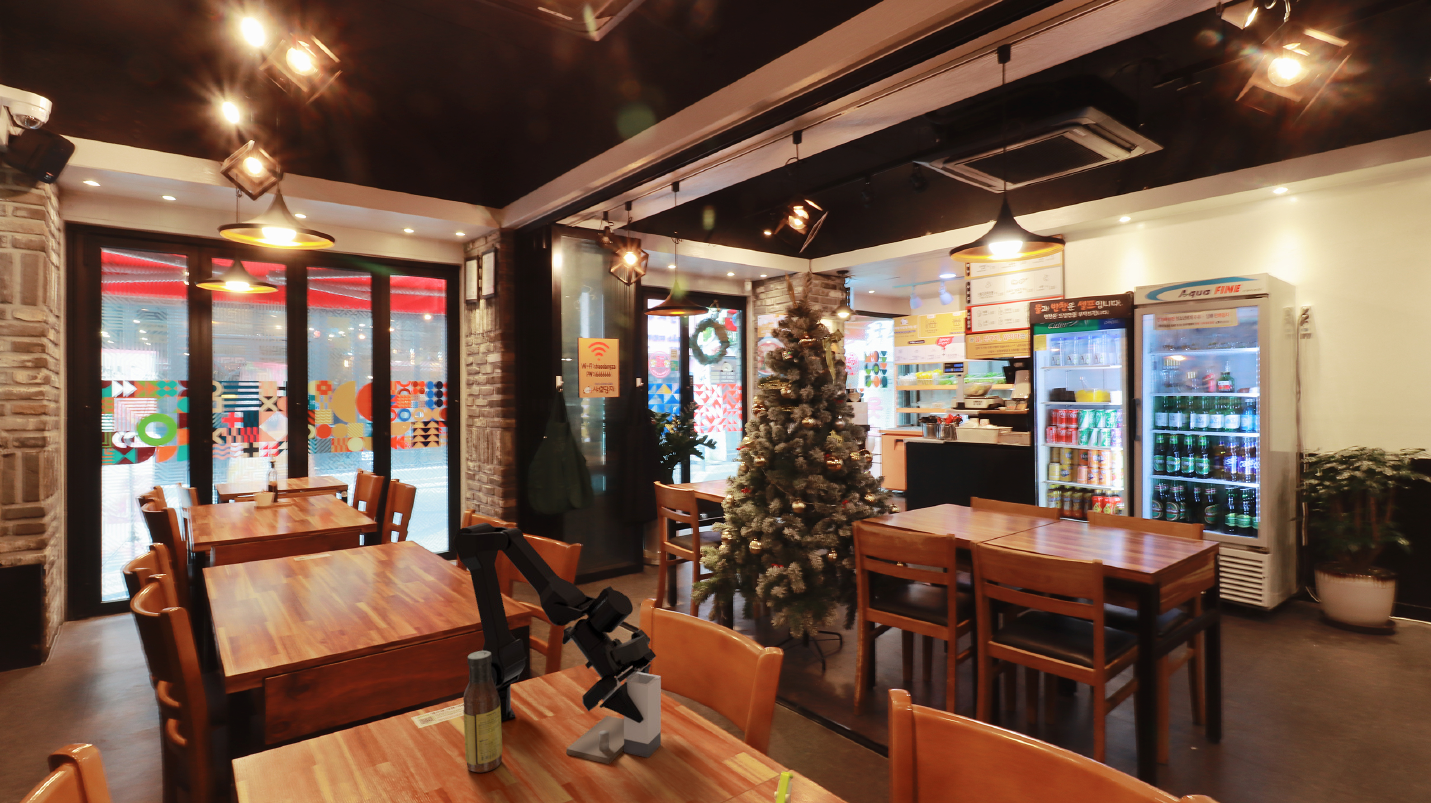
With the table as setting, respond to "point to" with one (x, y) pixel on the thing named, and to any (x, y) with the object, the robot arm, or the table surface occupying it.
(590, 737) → the pin board
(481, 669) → the sauce bottle
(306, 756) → the table surface
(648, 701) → the grey sleeve
